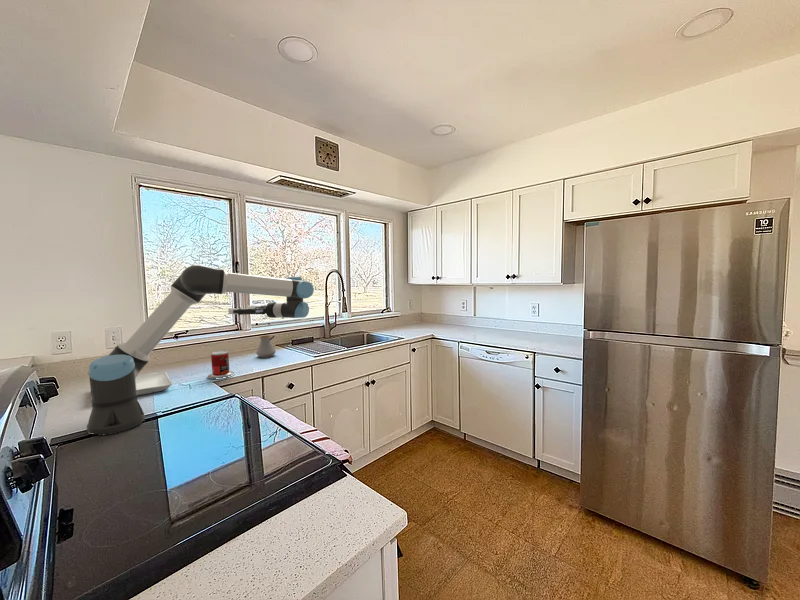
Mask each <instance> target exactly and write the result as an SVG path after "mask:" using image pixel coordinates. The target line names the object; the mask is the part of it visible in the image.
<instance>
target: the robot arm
mask: <svg viewBox="0 0 800 600" xmlns="http://www.w3.org/2000/svg"><path fill="white" fill-rule="evenodd" d="M314 289H315V287H314V285H313V284H312V283H311V282H310V281H307V280H303V278H302V276H287V277H285V278H280V277H269V276H261V275H251V274H243V273H242V274H241V273H234V272H227V271H226V270H225V269H222V268H215V267H211V266H206V265H203V264H194V265H189V266H188V267H186V268H185V269H184V270H182V272H181V274H180V275H179V276H178V277H177V278H176V279H175V280H174V282H172V283H171V285H170V292H169V293H168V295H167V296H166V297H165V298H164V299H163V300H162V302H161V303H160V304H158V306H157V307H156V308H155V310H154V311H152V313H151V314H150V315H149V316H148V317H147V318H146V319H145V321H144V322H143V323H142V324H141V325H140V326H139V328H137V330H136V331H135V332H134V333H133V334H132V335H131V336H130V337H129V339H128V340H127V341H126V342H123V343H119V344H117V345H116V346H115V348H114V349H112V350H111V351H110V353H109V354H108V355H105V356H103V357H102V356H101V357H100V358H96V359H94V360H93V361H91V362H90V364H89V365H88V371H87V372H88V373H87V374H88V376H89V385H90V396H91V397H90V399H91V398H92V401H91V407H92V409H91V412H90V416H89V419H88V422H87V424H86V432H87V431H88V432H90V433H94V434H98V435H101V436H104V435H103V434H109V435H111V434H110V433H114V434H116V433H115V432H118V433H121V432H120V431H122V432H125V431H128V430H131V429H133V428H132V427H134V428H135V426H136V427H138V426H140V425H142V422H143V421H144V422H145V420H146V418H145V417H146V415H145V412H144V410H143V408H142V407H141V404H140V403H139V401H138V397H137V395H136V382H135V378H136V376H139V373H140V372H141V371H142V370H143V369H144V367H146V366H147V364H148V362H149V361H150V354H151V353H152V352H153V350H154V349H155V348H156V347H157V345H159V344H160V342H161V341H162V340H163V339H164V337H165V336H166V335H167V334H168V333H169V331H170V330H171V329H172V328H173V327H174V326H175V325H176V324H177V322H178V321H179V320H180V319H181V317H183V315H184V314H185V313H186V312H187V311H188V309H189V308H190V307H191V306H192V305H197V304H199V303H200V302H201V301H202V300H203V298H204V297H205V296H206V295H211V294H213V295H214V294H215V295H223V294H224V293H236V294H248V295H249V294H250V295H262V296H263V295H264V296H272V297H273V296H274V297H286V299H285V300H286V301H269V302H268V303H267V305H266V304H264V305H247V308H241V307H240V306H239V307H234V308H233V307H232V308H228V309H227V311H228V315H238V316H240V315H243V316H244V315H266V316H267V317H268V318H269V319H274V318H275V319H277V318H278V319H279V318H281V319H283V320H284V319H285V318H289V319H292V318H293V319H300V318H302V319H304V318H307V316H308V315H309V312H310V307H309V304H308V303H307V302H306V301H304V299H308V298H311V297H312V296H313V294H314V291H315V290H314ZM144 419H145V420H144ZM144 422H143V423H144ZM139 424H140V425H139ZM137 425H138V426H137ZM130 428H131V429H130ZM127 429H128V430H127ZM124 430H125V431H124Z"/></svg>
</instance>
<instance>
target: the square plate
mask: <svg viewBox="0 0 800 600" xmlns="http://www.w3.org/2000/svg"><path fill="white" fill-rule="evenodd" d="M135 382H136V395H137V396H138V395H139V396H143V395H148V394H153V392H154V393H157V391H158V392H163V391H166V390H167V389H169V388H170V387H171V386H172V385H173V382H172V380H171V378H170V377H169V375H168V373H167V372H166V371H162V372H154V373H147V374H146V373H145V374H141V375H139V374H138V375H137V376H136V378H135ZM90 401H91V402H92V398H91V397H90Z"/></svg>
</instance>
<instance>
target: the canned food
mask: <svg viewBox="0 0 800 600" xmlns="http://www.w3.org/2000/svg"><path fill="white" fill-rule="evenodd" d="M210 358H211V374H212V373H213V375H215V376H220V375H225V374H228V373H229V371H230V360H229V358H230V357H229V351H228V350H218V351H213V352H211V353H210Z"/></svg>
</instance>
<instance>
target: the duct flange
mask: <svg viewBox="0 0 800 600" xmlns="http://www.w3.org/2000/svg"><path fill="white" fill-rule="evenodd" d="M233 374H234V375H235V372H234V371H233V370H229V373H228V374H225V375H220V376H215V375H213V373H212V372H211V373H210V374H208V375H207V379H208V378H210V379H209V380H217V379H216V378H223V377H228V376H231V375H233ZM234 375H233V376H234ZM231 377H232V376H231ZM228 378H229V377H228Z"/></svg>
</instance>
